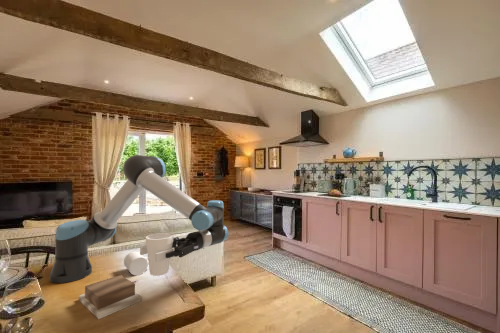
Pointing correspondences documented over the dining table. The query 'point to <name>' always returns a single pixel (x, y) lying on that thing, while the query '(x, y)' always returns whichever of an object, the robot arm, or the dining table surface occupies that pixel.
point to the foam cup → (156, 245)
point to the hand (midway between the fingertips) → (148, 254)
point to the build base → (111, 307)
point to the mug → (136, 263)
